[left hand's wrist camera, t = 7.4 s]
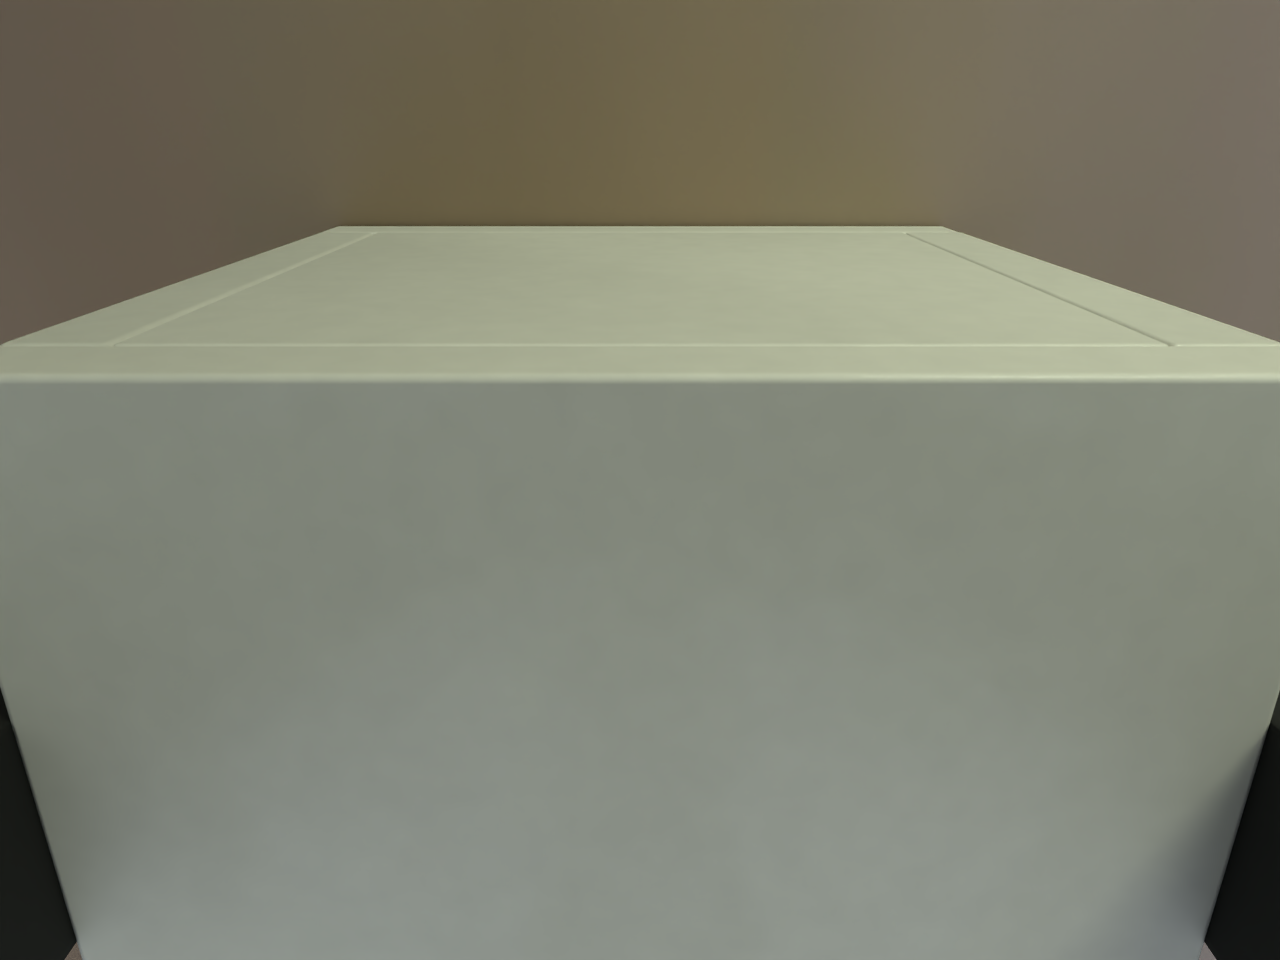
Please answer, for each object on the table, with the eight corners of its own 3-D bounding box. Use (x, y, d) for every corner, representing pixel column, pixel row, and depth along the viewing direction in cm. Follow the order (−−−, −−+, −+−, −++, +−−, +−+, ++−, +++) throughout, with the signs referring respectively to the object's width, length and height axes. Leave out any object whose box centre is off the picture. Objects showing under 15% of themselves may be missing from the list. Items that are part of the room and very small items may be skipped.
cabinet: (859, 948, 24) (1021, 1556, 14) (420, 948, 24) (259, 1556, 14) (944, 226, 17) (1380, 375, 7) (335, 225, 17) (-100, 375, 7)
